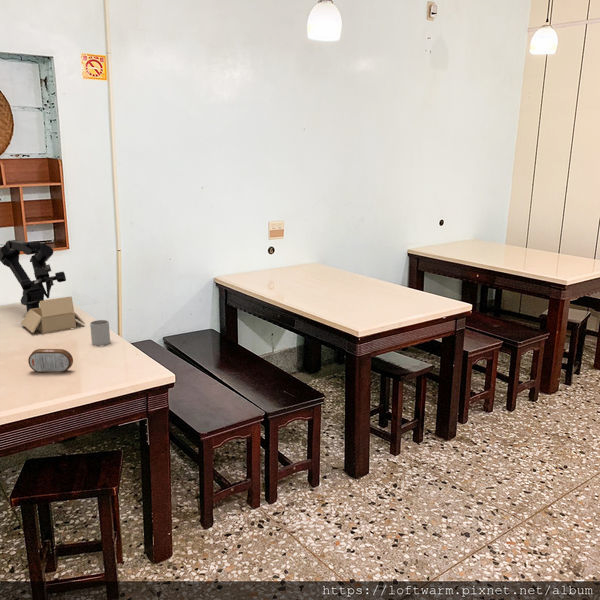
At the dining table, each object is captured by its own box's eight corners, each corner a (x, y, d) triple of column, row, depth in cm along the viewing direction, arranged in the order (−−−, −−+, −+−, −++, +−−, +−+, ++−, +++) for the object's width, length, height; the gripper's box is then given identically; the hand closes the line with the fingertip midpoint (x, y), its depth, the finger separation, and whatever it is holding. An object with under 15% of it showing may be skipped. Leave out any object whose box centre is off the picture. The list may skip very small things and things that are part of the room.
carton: (18, 324, 270) (16, 308, 269) (69, 315, 284) (67, 301, 282) (32, 335, 254) (31, 319, 252) (85, 326, 267) (84, 311, 266)
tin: (74, 370, 215) (72, 348, 213) (71, 373, 212) (69, 350, 210) (32, 370, 215) (29, 348, 212) (28, 373, 212) (25, 351, 209)
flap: (42, 317, 254) (42, 317, 255) (74, 312, 262) (73, 312, 263) (39, 301, 254) (39, 301, 254) (71, 296, 262) (71, 296, 262)
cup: (95, 347, 240) (93, 326, 238) (87, 340, 248) (85, 320, 245) (112, 344, 244) (111, 323, 242) (104, 337, 252) (103, 317, 249)
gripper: (14, 264, 260) (23, 296, 256) (59, 255, 266) (68, 286, 263) (18, 273, 270) (26, 305, 266) (62, 264, 276) (70, 295, 273)
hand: (48, 297), depth 267 cm, fingers closed
